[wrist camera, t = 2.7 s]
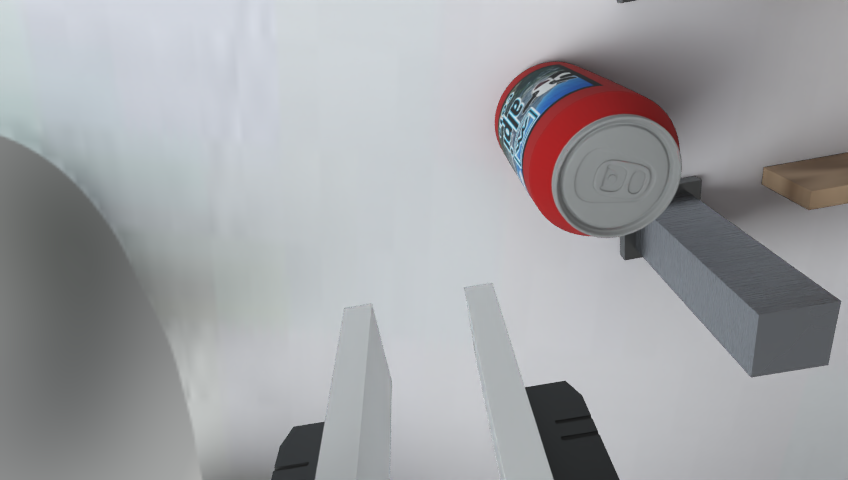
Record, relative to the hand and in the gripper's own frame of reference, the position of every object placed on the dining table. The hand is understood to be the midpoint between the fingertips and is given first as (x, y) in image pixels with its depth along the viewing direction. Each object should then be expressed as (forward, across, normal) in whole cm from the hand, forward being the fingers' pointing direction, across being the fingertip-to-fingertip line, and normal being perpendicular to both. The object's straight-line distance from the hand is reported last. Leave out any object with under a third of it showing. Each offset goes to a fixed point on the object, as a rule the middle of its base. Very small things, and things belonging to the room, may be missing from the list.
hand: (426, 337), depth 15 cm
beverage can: (+21, +8, 0) cm, 22 cm away
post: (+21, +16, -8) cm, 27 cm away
